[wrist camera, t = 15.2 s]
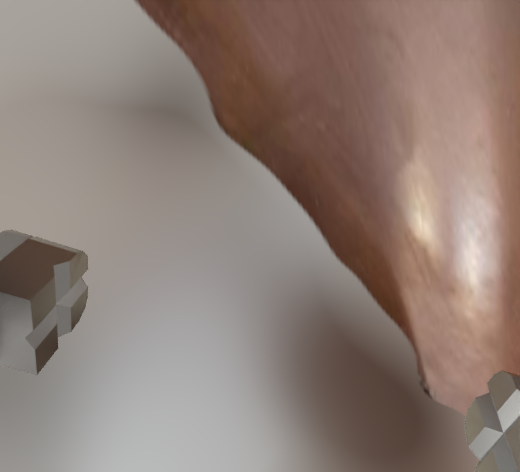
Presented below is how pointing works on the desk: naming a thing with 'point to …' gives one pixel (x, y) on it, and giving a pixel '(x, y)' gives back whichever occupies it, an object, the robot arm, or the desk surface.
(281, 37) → the desk surface
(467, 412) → the robot arm
